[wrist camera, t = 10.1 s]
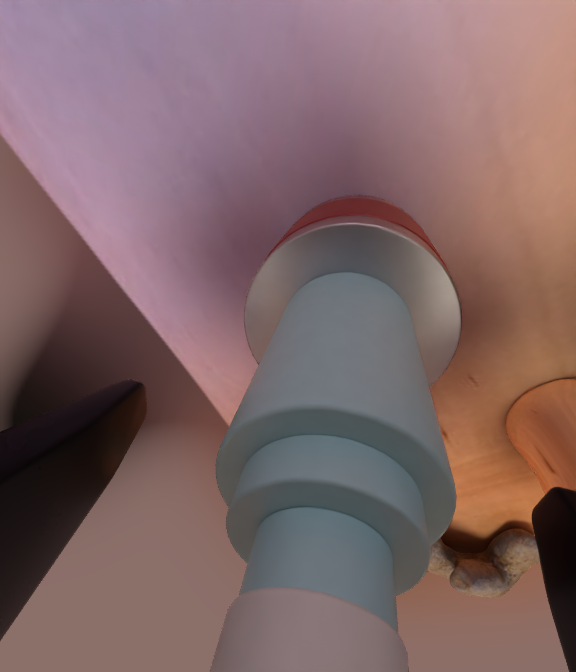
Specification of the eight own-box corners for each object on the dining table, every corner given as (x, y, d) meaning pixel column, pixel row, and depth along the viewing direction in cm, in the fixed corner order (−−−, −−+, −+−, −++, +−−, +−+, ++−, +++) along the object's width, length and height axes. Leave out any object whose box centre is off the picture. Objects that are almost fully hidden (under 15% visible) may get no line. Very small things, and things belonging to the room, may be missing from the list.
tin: (269, 324, 21) (235, 390, 15) (289, 179, 17) (251, 199, 11) (403, 353, 20) (418, 435, 15) (458, 211, 16) (508, 248, 10)
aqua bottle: (275, 369, 14) (136, 722, 6) (292, 258, 12) (93, 581, 3) (389, 396, 14) (431, 825, 5) (432, 287, 11) (648, 755, 3)
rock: (272, 462, 24) (269, 461, 31) (251, 545, 22) (253, 525, 29) (559, 539, 24) (493, 522, 30) (561, 630, 22) (491, 590, 29)
